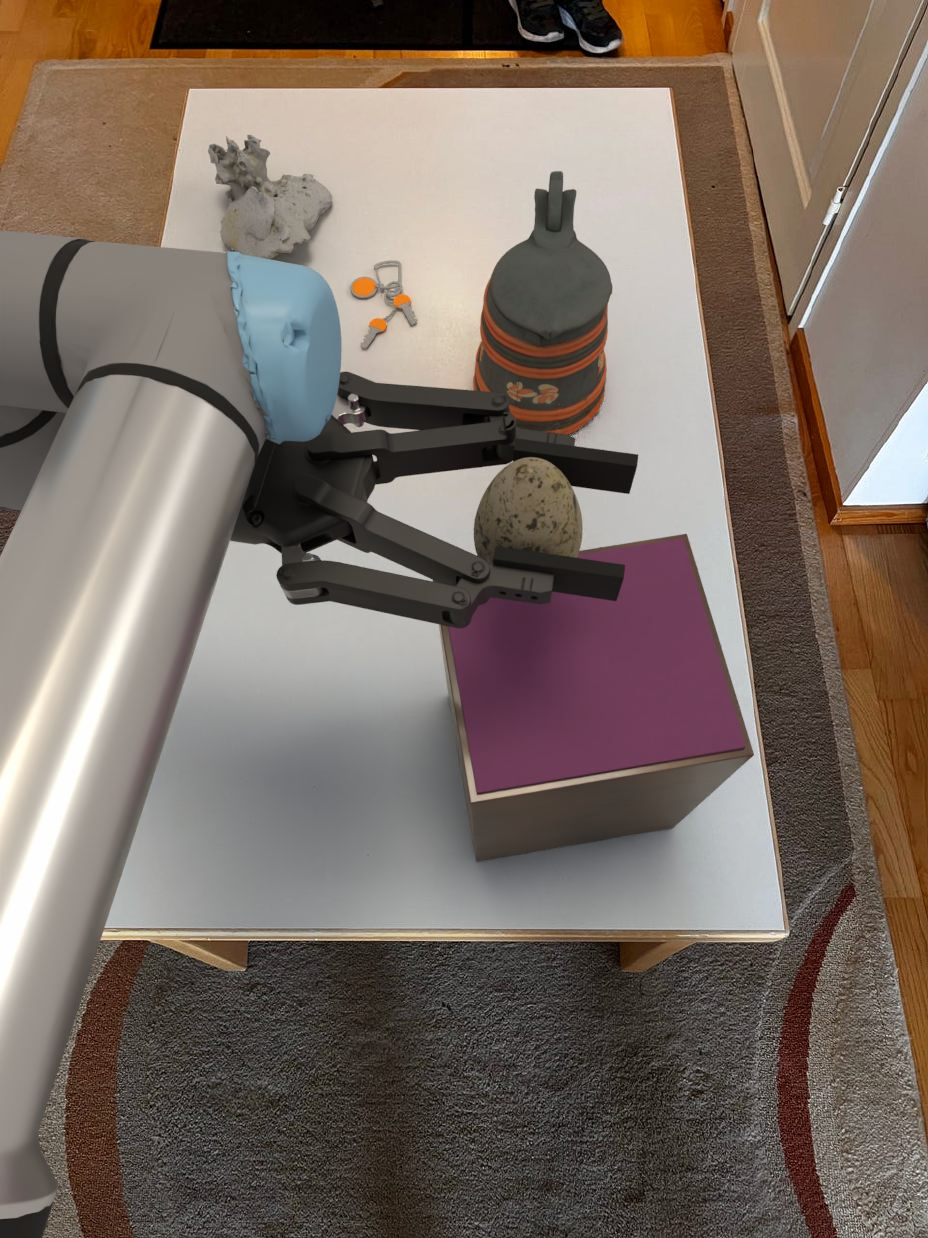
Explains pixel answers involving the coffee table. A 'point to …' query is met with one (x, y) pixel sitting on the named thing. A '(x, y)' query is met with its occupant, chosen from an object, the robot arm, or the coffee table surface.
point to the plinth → (590, 782)
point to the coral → (265, 202)
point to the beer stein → (547, 322)
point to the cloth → (594, 677)
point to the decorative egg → (529, 511)
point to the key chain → (368, 288)
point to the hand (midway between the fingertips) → (626, 527)
